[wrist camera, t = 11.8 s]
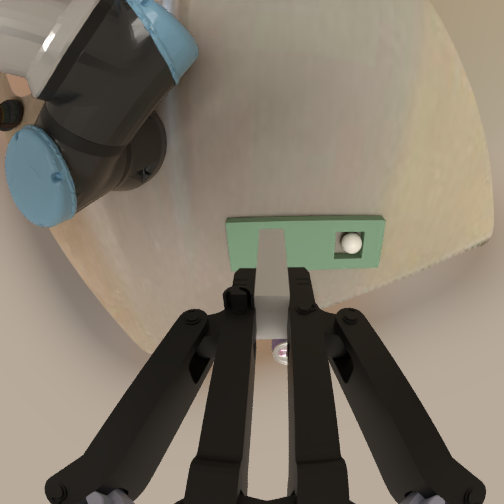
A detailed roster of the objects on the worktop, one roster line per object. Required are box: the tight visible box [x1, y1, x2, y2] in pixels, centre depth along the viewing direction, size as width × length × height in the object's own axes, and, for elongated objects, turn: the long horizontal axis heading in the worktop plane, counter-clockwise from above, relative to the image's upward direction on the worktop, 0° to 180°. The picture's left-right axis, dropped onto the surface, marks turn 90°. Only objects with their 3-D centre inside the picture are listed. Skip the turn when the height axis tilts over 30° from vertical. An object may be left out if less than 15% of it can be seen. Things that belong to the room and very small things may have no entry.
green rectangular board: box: [226, 216, 386, 271], centre depth 44 cm, size 26×9×2 cm, turn 94°
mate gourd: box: [0, 100, 22, 131], centre depth 31 cm, size 7×8×10 cm
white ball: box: [341, 233, 362, 254], centre depth 43 cm, size 4×4×4 cm
